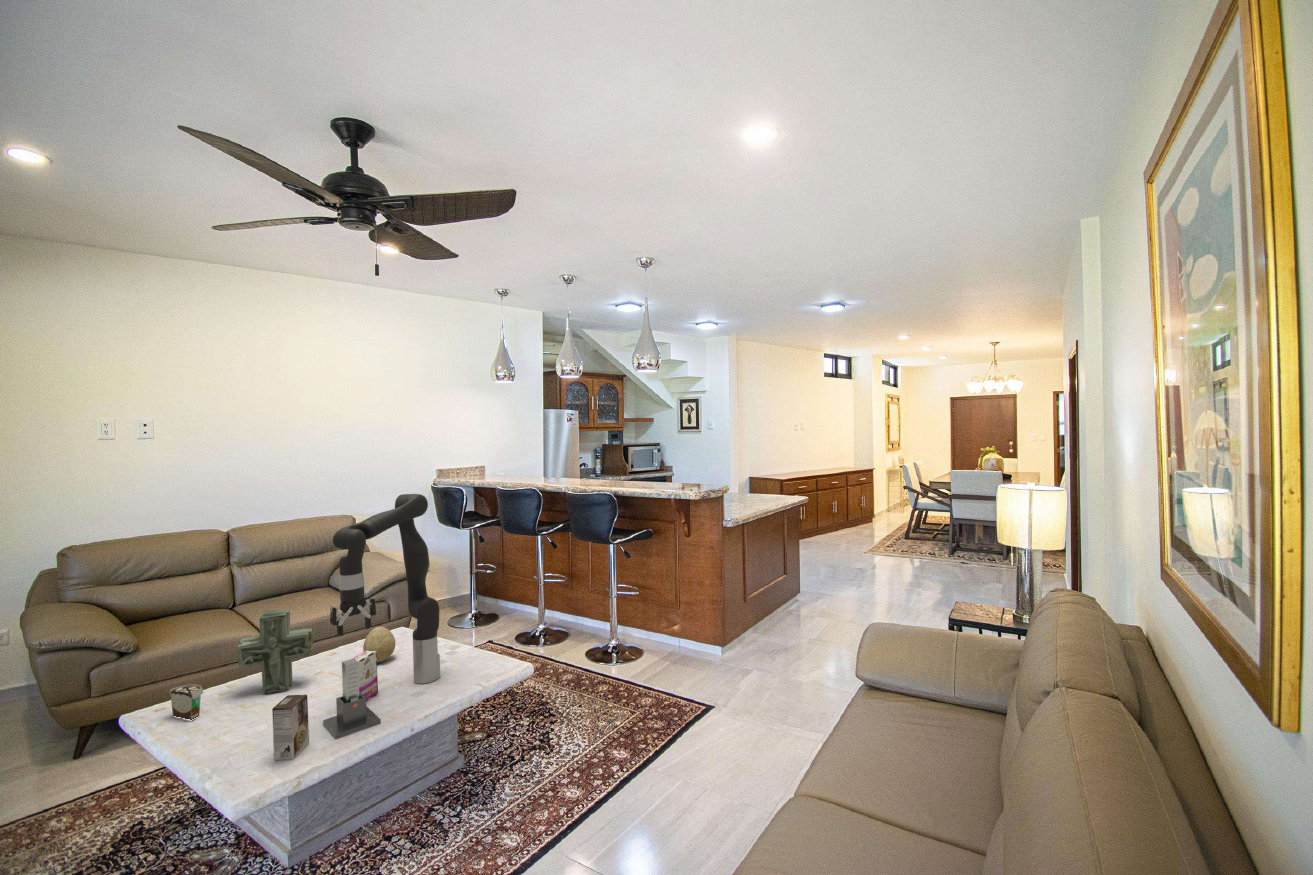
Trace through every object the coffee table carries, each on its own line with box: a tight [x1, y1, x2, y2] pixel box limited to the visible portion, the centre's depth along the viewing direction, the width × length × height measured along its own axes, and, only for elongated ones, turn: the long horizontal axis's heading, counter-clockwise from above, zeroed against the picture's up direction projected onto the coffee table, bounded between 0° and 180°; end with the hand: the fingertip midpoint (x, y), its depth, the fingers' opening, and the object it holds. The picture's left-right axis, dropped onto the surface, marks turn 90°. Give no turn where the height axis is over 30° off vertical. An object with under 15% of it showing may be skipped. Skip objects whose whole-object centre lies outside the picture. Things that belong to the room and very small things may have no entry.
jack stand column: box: [341, 657, 360, 703], centre depth 200 cm, size 4×4×16 cm
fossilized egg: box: [362, 626, 396, 663], centre depth 255 cm, size 13×13×15 cm
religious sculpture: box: [237, 608, 314, 695], centre depth 229 cm, size 24×12×30 cm, turn 114°
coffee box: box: [271, 694, 310, 761], centre depth 183 cm, size 9×6×16 cm
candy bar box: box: [351, 651, 379, 702], centre depth 218 cm, size 11×5×16 cm, turn 168°
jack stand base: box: [322, 692, 382, 740], centre depth 200 cm, size 14×14×10 cm
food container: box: [168, 683, 204, 721], centre depth 209 cm, size 12×6×10 cm, turn 71°
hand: (354, 631), depth 204 cm, fingers open, 8 cm apart
